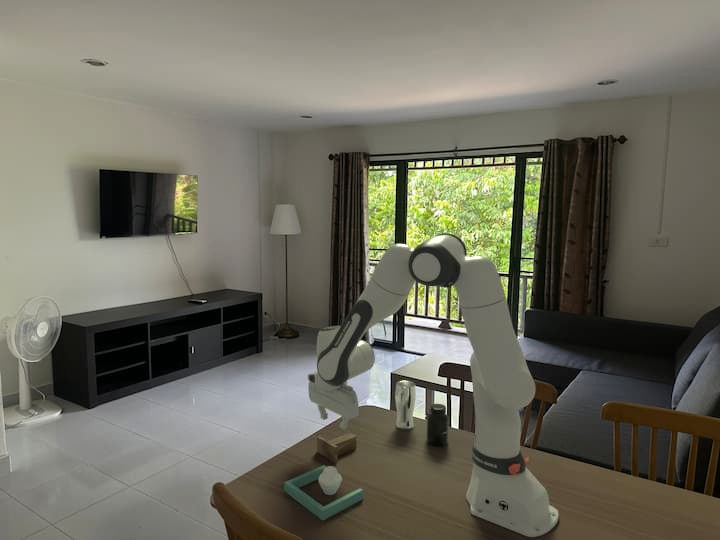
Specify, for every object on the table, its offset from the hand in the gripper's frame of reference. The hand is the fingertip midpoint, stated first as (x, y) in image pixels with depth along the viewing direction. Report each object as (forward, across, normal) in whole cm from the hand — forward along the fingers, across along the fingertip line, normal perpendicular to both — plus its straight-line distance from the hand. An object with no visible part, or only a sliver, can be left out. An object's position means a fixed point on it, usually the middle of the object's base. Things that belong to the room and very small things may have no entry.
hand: (333, 423), depth 147 cm
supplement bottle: (+11, -15, -30) cm, 36 cm away
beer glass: (+11, 0, -31) cm, 33 cm away
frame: (+10, -15, +15) cm, 23 cm away
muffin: (+10, -15, +13) cm, 22 cm away
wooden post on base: (+10, 0, -3) cm, 10 cm away
